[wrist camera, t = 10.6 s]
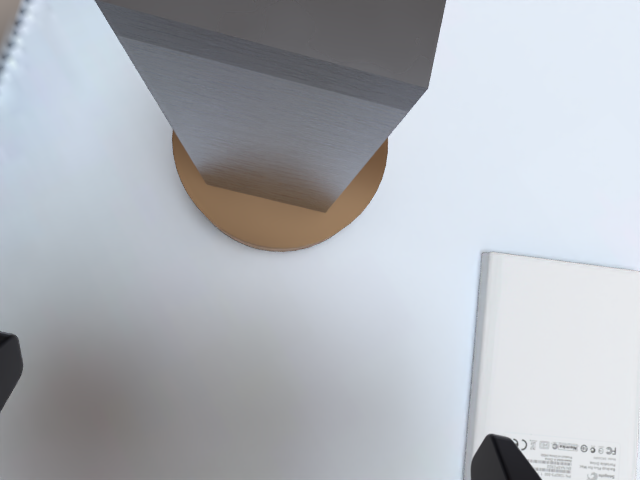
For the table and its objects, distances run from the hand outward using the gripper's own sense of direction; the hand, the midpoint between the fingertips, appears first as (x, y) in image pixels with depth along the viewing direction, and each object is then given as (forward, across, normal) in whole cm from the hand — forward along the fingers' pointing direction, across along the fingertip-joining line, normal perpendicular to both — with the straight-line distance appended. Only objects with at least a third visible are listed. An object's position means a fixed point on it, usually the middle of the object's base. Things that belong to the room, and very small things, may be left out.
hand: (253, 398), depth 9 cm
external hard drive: (+12, -14, +9) cm, 20 cm away
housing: (+13, +2, 0) cm, 13 cm away
